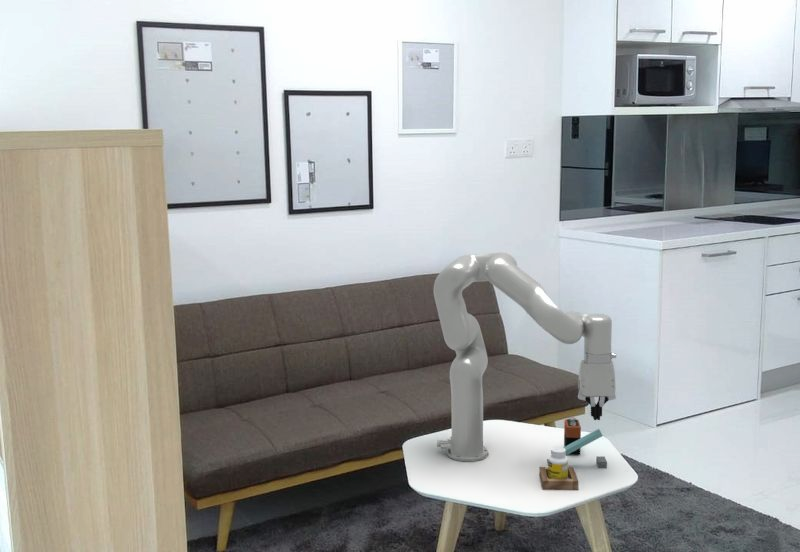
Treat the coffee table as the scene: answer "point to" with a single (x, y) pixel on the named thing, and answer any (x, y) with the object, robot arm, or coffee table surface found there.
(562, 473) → the supplement bottle
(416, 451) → the coffee table surface
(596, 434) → the latch bar
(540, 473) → the socket
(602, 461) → the latch bracket
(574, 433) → the battery
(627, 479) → the coffee table surface
